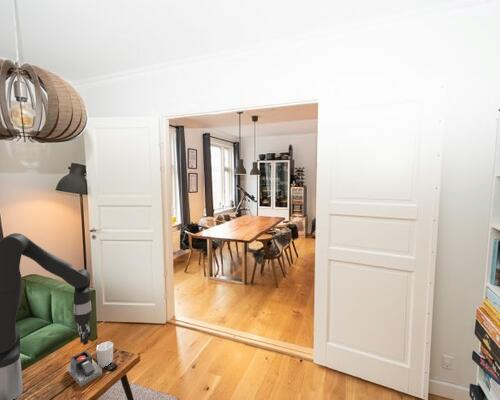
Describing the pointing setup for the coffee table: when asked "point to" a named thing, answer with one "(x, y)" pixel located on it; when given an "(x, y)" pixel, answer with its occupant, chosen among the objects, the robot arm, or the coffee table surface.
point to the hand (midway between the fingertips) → (84, 342)
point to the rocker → (88, 367)
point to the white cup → (104, 353)
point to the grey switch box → (78, 371)
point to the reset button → (80, 358)
